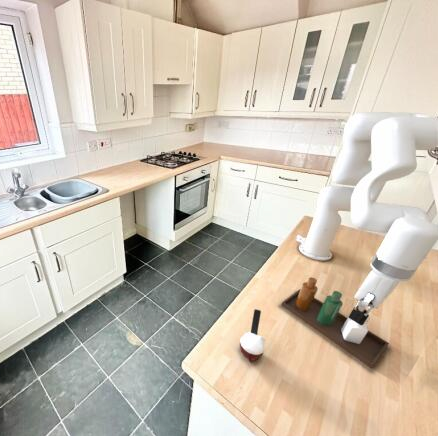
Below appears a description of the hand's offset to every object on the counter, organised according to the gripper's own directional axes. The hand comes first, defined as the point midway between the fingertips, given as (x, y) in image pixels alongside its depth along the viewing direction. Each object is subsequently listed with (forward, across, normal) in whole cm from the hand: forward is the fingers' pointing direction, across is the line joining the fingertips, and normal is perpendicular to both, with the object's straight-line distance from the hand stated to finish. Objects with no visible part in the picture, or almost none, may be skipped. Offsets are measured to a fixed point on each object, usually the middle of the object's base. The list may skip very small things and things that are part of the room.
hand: (363, 312), depth 67 cm
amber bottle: (+10, 0, -14) cm, 17 cm away
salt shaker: (+10, 0, 0) cm, 10 cm away
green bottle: (+10, 0, -7) cm, 12 cm away
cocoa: (+11, +28, -13) cm, 33 cm away
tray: (+11, 0, -5) cm, 12 cm away
